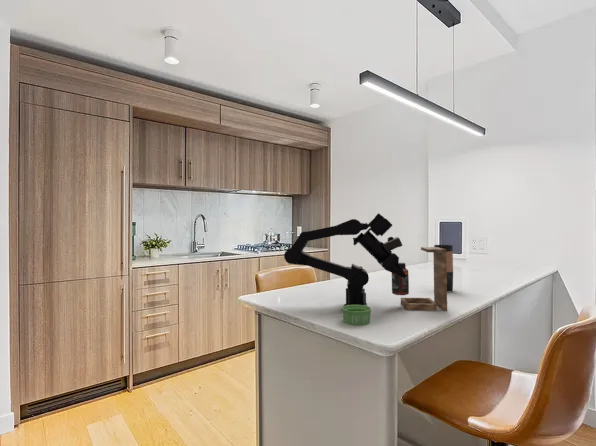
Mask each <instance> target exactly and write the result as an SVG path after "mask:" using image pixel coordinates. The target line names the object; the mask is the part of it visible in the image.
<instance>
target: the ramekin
mask: <svg viewBox="0 0 596 446" xmlns="http://www.w3.org/2000/svg"><path fill="white" fill-rule="evenodd" d="M341 310H342V319H343V322H344V323H345V324H347V325H352V326H365V325H368V324H370V322H371V311H372V308H371V307H370V306H368V305H346V306H344V305H343V306H342V307H341Z"/></svg>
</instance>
